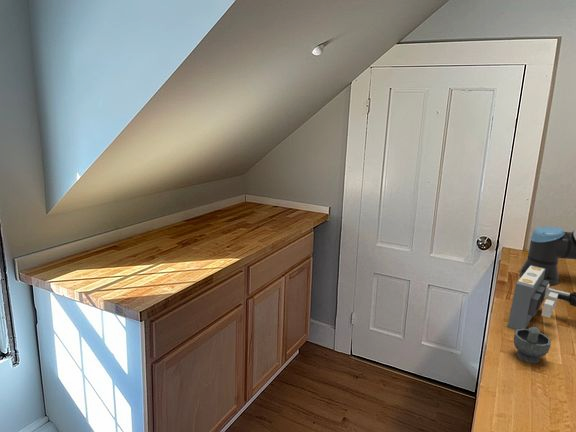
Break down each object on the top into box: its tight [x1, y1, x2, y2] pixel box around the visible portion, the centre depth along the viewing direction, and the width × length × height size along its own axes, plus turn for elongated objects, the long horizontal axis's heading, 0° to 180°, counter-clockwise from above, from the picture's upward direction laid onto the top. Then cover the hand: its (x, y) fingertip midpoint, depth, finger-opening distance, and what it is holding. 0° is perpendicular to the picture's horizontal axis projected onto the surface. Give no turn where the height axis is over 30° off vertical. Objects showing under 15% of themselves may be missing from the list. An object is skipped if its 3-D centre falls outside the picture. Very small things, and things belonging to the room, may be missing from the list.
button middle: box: [547, 292, 558, 310], centre depth 149 cm, size 4×2×4 cm, turn 141°
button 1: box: [541, 298, 555, 319], centre depth 143 cm, size 4×2×4 cm, turn 141°
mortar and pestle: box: [513, 326, 552, 364], centre depth 128 cm, size 11×9×12 cm
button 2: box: [544, 284, 551, 300], centre depth 158 cm, size 4×2×4 cm, turn 141°
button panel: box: [507, 265, 549, 330], centre depth 153 cm, size 24×7×16 cm, turn 141°
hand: (548, 292), depth 157 cm, fingers closed
